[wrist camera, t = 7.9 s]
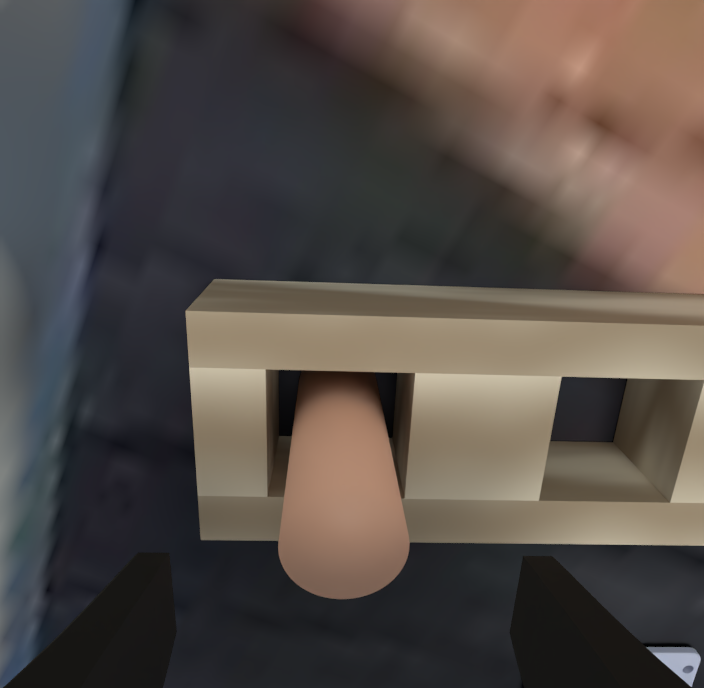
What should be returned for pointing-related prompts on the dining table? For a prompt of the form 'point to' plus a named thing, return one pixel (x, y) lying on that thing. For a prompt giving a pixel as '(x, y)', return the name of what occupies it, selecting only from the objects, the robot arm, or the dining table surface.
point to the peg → (341, 490)
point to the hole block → (461, 406)
